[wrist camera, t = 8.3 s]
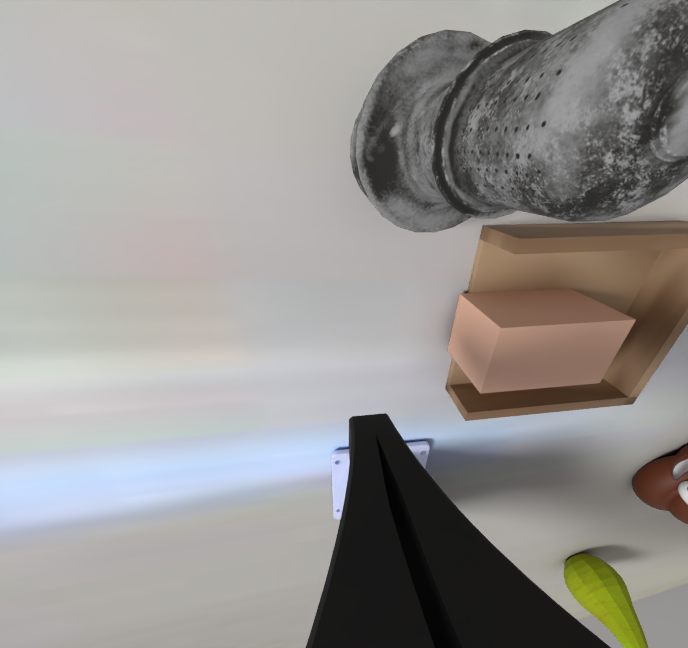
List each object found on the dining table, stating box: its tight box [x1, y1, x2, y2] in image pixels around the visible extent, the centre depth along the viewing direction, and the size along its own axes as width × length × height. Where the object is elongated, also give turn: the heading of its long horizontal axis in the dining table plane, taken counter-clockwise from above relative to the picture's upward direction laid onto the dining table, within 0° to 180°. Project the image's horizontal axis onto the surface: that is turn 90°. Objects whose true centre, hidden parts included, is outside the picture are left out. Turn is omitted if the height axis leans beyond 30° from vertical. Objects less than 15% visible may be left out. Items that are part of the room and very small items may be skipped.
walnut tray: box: [445, 221, 688, 421], centre depth 17 cm, size 11×12×3 cm
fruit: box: [564, 553, 648, 648], centre depth 35 cm, size 6×6×12 cm
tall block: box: [448, 288, 636, 394], centre depth 16 cm, size 4×4×7 cm
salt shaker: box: [350, 0, 688, 232], centre depth 8 cm, size 6×6×12 cm
